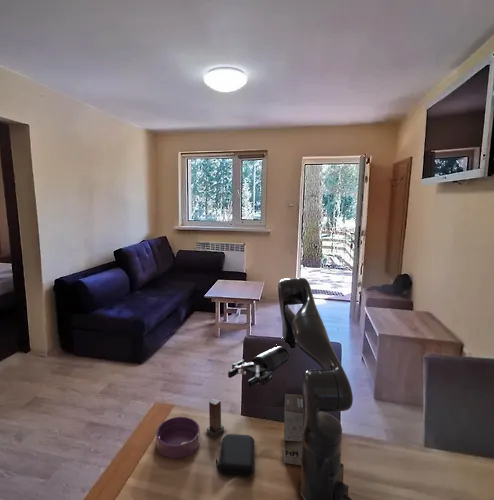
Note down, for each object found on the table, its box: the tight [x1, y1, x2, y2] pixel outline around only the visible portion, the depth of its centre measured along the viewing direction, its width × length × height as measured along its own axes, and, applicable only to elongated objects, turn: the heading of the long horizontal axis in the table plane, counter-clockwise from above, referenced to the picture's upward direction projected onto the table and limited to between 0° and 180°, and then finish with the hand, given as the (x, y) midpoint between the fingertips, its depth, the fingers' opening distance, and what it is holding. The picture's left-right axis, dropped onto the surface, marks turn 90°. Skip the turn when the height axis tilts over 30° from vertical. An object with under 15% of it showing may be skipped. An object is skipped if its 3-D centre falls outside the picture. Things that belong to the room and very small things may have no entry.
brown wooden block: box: [206, 397, 225, 438], centre depth 106 cm, size 4×3×11 cm
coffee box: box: [283, 393, 303, 466], centre depth 97 cm, size 9×6×16 cm
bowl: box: [155, 416, 201, 459], centre depth 102 cm, size 13×13×4 cm
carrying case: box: [215, 433, 255, 478], centre depth 96 cm, size 11×3×15 cm
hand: (238, 379), depth 113 cm, fingers open, 8 cm apart
